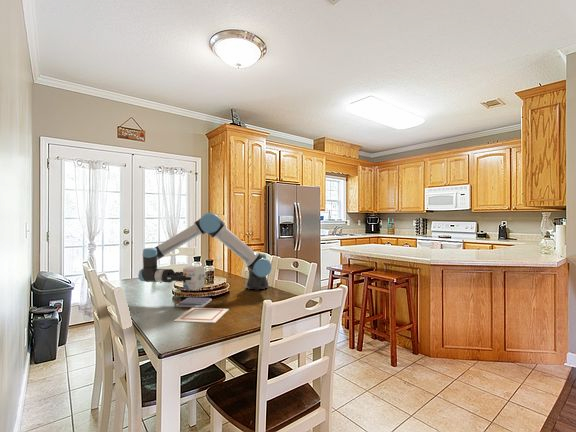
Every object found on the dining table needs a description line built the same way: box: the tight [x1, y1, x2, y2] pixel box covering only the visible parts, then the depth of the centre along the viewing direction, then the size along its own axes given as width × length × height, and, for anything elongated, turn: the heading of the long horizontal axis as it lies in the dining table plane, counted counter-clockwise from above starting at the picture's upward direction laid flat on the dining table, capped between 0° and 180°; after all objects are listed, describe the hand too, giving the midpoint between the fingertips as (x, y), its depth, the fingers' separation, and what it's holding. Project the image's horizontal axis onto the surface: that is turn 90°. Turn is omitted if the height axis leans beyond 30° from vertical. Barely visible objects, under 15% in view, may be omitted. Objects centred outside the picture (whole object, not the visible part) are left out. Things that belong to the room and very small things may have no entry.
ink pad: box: [175, 296, 213, 308], centre depth 170 cm, size 15×14×2 cm
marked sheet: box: [173, 307, 230, 324], centre depth 150 cm, size 20×20×1 cm
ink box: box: [182, 265, 205, 291], centre depth 170 cm, size 9×8×12 cm
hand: (201, 276), depth 169 cm, fingers closed on ink box, 9 cm apart
